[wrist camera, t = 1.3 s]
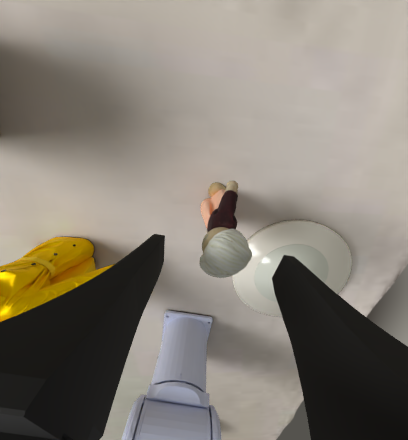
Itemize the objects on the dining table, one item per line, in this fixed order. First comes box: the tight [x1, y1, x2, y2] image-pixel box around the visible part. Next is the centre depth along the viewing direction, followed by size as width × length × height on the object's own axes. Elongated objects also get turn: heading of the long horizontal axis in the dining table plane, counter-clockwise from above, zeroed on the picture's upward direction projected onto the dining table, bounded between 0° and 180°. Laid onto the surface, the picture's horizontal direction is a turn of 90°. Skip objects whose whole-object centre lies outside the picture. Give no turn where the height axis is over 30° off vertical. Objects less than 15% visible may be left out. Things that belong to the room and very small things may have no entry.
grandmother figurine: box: [200, 181, 252, 278], centre depth 15 cm, size 8×4×13 cm, turn 179°
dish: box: [232, 220, 352, 317], centre depth 23 cm, size 16×16×1 cm
